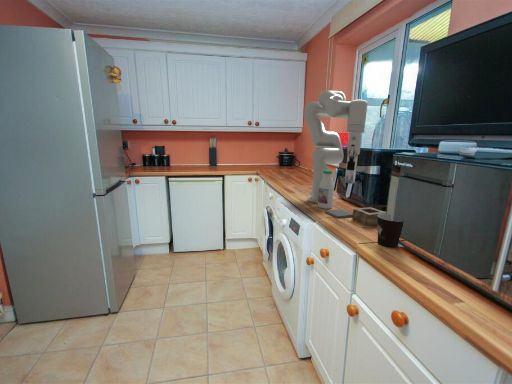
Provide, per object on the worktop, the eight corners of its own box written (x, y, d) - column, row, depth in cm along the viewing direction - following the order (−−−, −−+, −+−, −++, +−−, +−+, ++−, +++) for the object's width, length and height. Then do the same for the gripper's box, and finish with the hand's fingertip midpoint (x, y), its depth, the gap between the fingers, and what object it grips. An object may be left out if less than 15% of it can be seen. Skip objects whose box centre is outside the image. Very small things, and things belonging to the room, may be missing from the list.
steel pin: (348, 183, 119) (352, 155, 116) (342, 181, 123) (345, 154, 120) (356, 183, 121) (359, 155, 118) (350, 181, 125) (353, 154, 122)
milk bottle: (327, 205, 145) (329, 169, 141) (335, 208, 138) (338, 171, 134) (314, 205, 143) (317, 169, 139) (322, 209, 136) (325, 171, 132)
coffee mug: (402, 251, 86) (406, 222, 84) (374, 246, 90) (377, 218, 87) (399, 239, 96) (403, 213, 94) (374, 235, 100) (377, 210, 98)
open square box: (352, 219, 120) (353, 208, 119) (369, 217, 123) (370, 207, 122) (368, 225, 111) (369, 214, 110) (386, 223, 114) (387, 213, 113)
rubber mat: (325, 212, 130) (325, 210, 130) (341, 211, 133) (341, 209, 133) (337, 218, 121) (337, 216, 121) (354, 216, 124) (355, 214, 124)
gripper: (363, 129, 107) (358, 172, 111) (365, 129, 122) (360, 168, 126) (344, 128, 110) (340, 171, 114) (348, 129, 125) (344, 166, 129)
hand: (351, 169), depth 120 cm, fingers closed on steel pin, 4 cm apart
